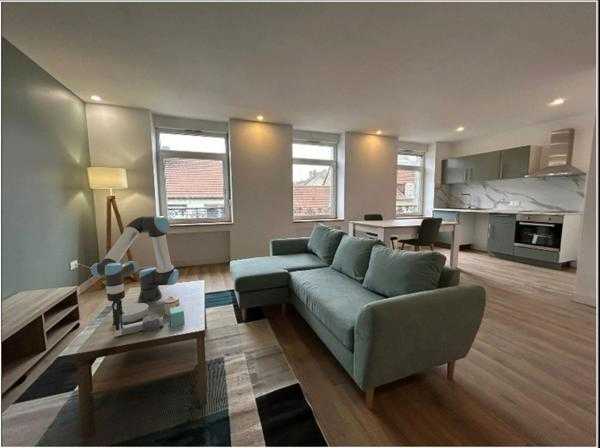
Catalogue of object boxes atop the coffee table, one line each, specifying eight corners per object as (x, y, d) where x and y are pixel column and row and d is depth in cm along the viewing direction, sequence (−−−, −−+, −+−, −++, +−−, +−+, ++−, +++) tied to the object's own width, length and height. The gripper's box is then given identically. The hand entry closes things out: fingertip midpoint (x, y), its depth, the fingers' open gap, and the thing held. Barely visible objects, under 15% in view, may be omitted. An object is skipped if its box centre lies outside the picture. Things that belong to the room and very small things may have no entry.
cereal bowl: (111, 328, 141) (110, 316, 141) (123, 315, 157) (122, 305, 156) (144, 323, 146) (143, 312, 145) (152, 311, 162) (151, 301, 161)
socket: (170, 320, 150) (169, 308, 149) (183, 317, 153) (182, 305, 152) (171, 326, 142) (170, 313, 141) (184, 323, 146) (183, 310, 145)
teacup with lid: (177, 315, 157) (176, 297, 155) (162, 316, 154) (161, 299, 153) (182, 307, 168) (181, 291, 167) (167, 308, 166) (166, 292, 165)
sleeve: (143, 327, 142) (143, 317, 141) (159, 323, 146) (158, 313, 145) (143, 333, 136) (142, 322, 135) (159, 328, 140) (159, 318, 139)
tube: (116, 333, 133) (114, 315, 132) (163, 322, 145) (162, 305, 144) (115, 336, 130) (113, 318, 129) (163, 324, 142) (162, 308, 141)
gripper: (110, 286, 138) (113, 323, 140) (103, 300, 119) (107, 343, 121) (126, 284, 142) (129, 320, 144) (122, 297, 123) (126, 338, 125)
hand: (119, 330), depth 132 cm, fingers open, 10 cm apart
